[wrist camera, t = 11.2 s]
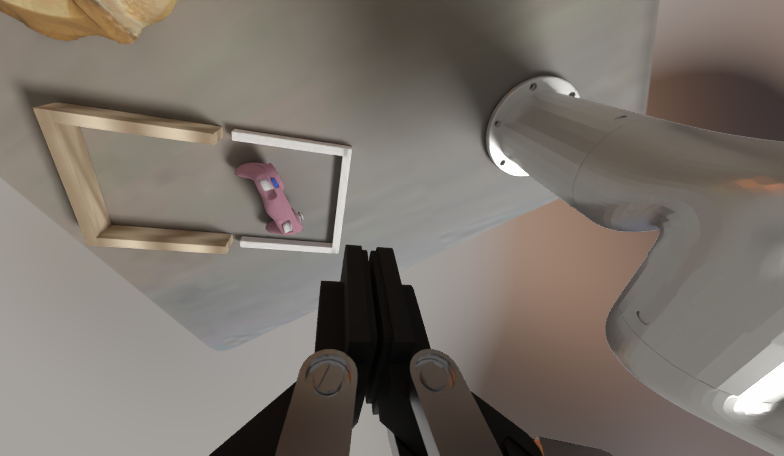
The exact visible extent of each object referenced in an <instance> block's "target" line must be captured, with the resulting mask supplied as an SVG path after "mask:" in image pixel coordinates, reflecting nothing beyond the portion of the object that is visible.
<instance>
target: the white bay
mask: <svg viewBox="0 0 784 456" xmlns="http://www.w3.org/2000/svg"><path fill="white" fill-rule="evenodd" d="M232 140H234V141H241V142H248V143H255V144H262V145H268V146H275V147H282V148H289V149H296V150H303V151H310V152H317V153H324V154H331V155H338V156H342V164H341V173H340V182H339V190H338V199H337V208H336V217H335V225H334V234H333V243H324V242H311V241H298V240H285V239H273V238H260V237H247V236H242V238H241V240H240V247H249V248H263V249H278V250H292V251H306V252H321V253H335V254H338V253H339V245H340V238H341V230H342V222H343V215H344V207H345V199H346V192H347V184H348V176H349V169H350V161H351V154H352V146H345V145H339V144H332V143H326V142H319V141H312V140H306V139H299V138H293V137H286V136H279V135H273V134H266V133H260V132H253V131H246V130H240V129H234V130H233V131H232Z"/></svg>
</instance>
